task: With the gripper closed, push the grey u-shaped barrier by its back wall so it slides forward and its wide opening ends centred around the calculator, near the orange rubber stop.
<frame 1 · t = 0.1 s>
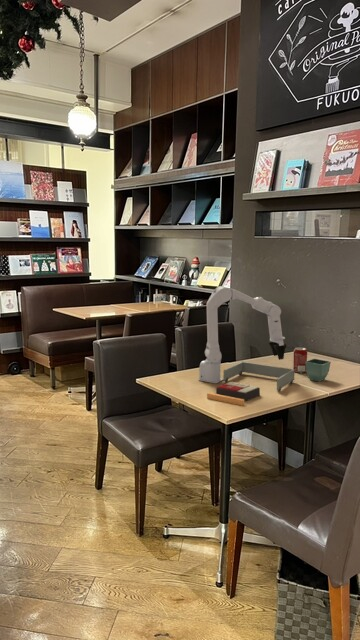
hand: (278, 357, 218), 11 cm above the table, tool pointing down, fingers open, 7 cm apart
calculator: (237, 395, 195), on the table
soda can: (299, 372, 233), on the table
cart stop: (225, 401, 186), on the table
flower pot: (317, 380, 219), on the table
grey u-shaped barrier: (259, 375, 213), point 3 cm above the table, slide at 0.0 cm
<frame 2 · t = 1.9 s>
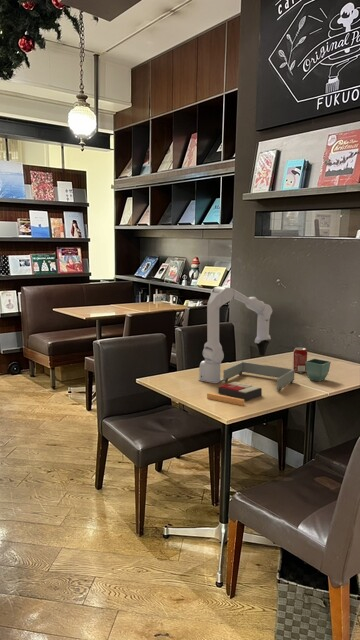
hand: (262, 355, 227), 9 cm above the table, tool pointing down, fingers closed
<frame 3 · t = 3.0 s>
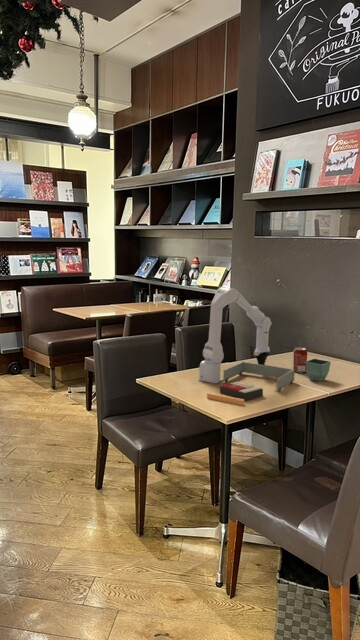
hand: (261, 367, 227), 3 cm above the table, tool pointing down, fingers closed
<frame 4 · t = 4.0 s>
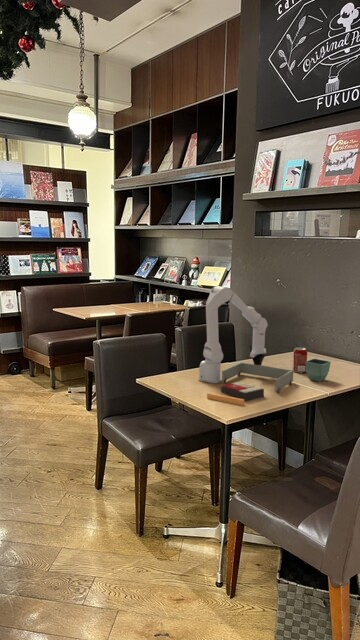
hand: (257, 369, 224), 3 cm above the table, tool pointing down, fingers closed
grey u-shaped barrier: (257, 376, 212), point 3 cm above the table, slide at 1.6 cm, touching gripper
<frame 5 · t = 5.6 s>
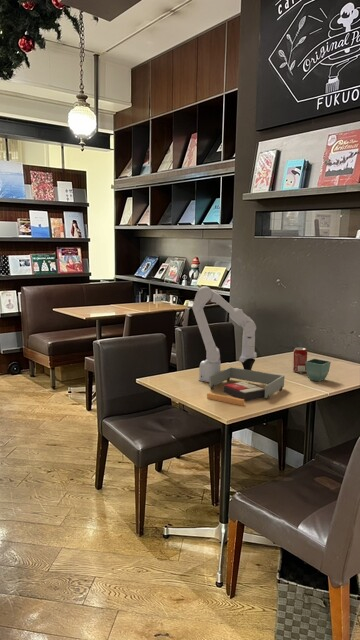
hand: (247, 374, 214), 3 cm above the table, tool pointing down, fingers closed
grey u-shaped barrier: (246, 382, 202), point 3 cm above the table, slide at 13.1 cm, touching gripper
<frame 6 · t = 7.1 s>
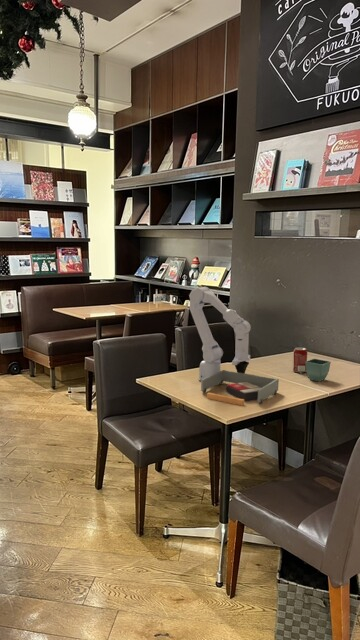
hand: (240, 377, 208), 3 cm above the table, tool pointing down, fingers closed
grey u-shaped barrier: (240, 386, 196), point 3 cm above the table, slide at 20.1 cm, touching gripper
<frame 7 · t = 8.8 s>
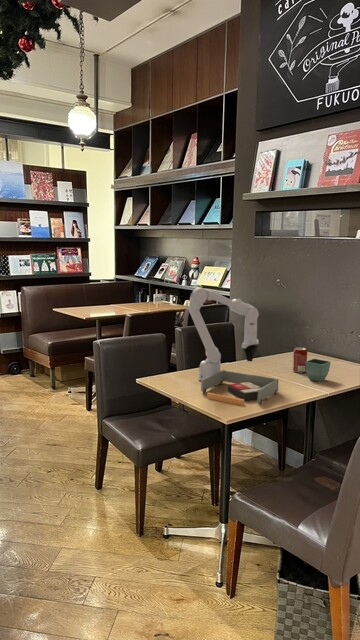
hand: (249, 360, 215), 9 cm above the table, tool pointing down, fingers closed
grey u-shaped barrier: (239, 386, 196), point 3 cm above the table, slide at 20.1 cm
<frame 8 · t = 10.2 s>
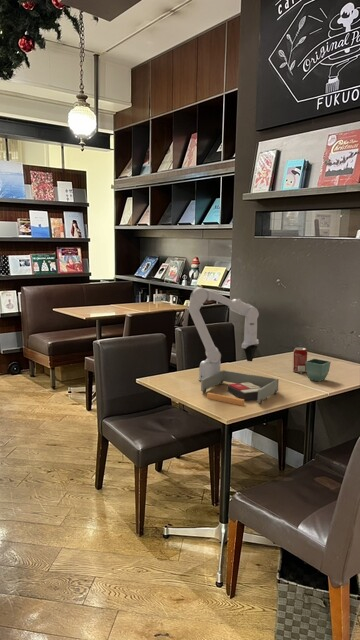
hand: (249, 360, 215), 9 cm above the table, tool pointing down, fingers closed
at the end: grey u-shaped barrier slide at 20.1 cm; calculator inside the target area on the grey u-shaped barrier (3.5 cm from its centre), point -0.7 cm above the grey u-shaped barrier's base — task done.
